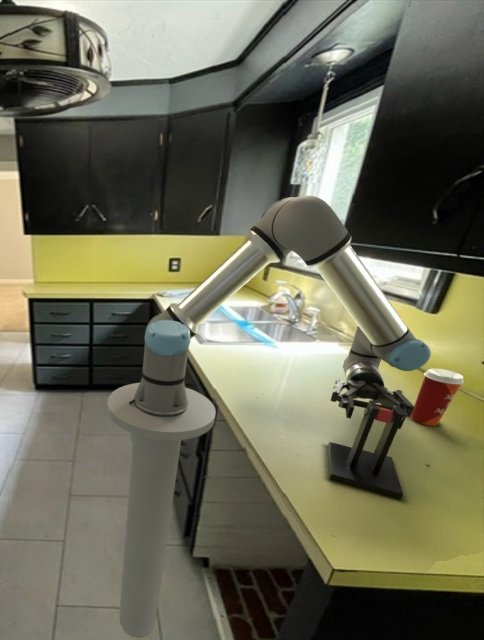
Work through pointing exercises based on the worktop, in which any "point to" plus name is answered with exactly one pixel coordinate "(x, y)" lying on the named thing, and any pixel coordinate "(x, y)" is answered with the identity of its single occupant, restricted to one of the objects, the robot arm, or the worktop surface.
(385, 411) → the lever
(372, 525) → the worktop surface
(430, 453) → the worktop surface
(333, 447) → the bracket
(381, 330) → the robot arm
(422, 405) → the paper cup
